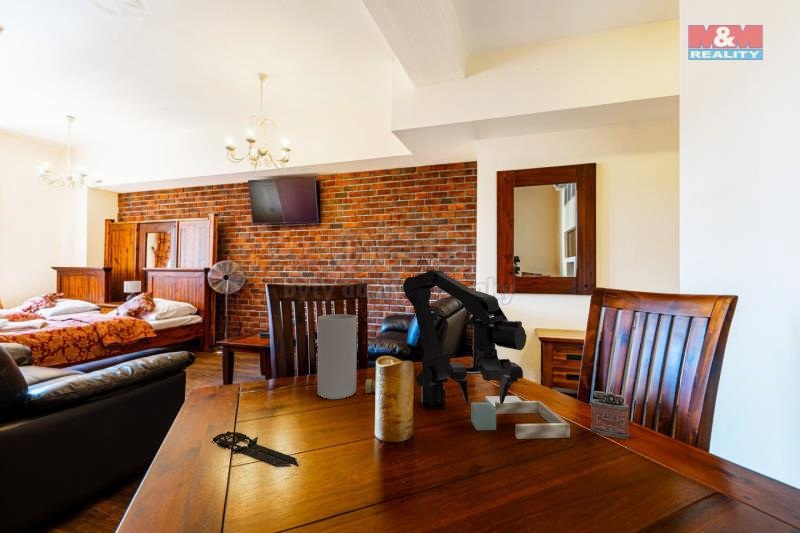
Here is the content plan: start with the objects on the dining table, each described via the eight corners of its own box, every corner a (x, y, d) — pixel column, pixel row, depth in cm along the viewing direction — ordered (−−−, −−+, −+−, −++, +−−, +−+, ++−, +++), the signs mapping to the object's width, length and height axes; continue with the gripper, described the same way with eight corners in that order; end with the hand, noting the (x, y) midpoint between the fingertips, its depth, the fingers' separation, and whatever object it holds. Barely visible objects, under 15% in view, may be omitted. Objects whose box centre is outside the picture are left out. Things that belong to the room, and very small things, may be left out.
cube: (476, 430, 83) (476, 410, 83) (471, 421, 88) (471, 402, 88) (496, 430, 83) (496, 410, 83) (489, 421, 88) (489, 402, 88)
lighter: (627, 433, 81) (627, 392, 81) (630, 440, 78) (630, 397, 78) (590, 427, 84) (589, 388, 85) (591, 433, 81) (591, 392, 82)
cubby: (517, 438, 78) (517, 426, 78) (495, 412, 93) (495, 401, 93) (570, 437, 79) (569, 424, 79) (539, 411, 94) (539, 400, 94)
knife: (304, 465, 68) (304, 458, 68) (277, 481, 63) (277, 474, 63) (235, 432, 82) (235, 426, 82) (208, 443, 76) (208, 437, 77)
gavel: (374, 367, 128) (399, 367, 127) (373, 379, 128) (399, 379, 127) (365, 381, 107) (395, 381, 107) (364, 395, 107) (395, 396, 106)
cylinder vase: (337, 384, 117) (338, 313, 117) (364, 391, 110) (364, 316, 110) (309, 394, 107) (310, 317, 107) (336, 403, 99) (336, 320, 100)
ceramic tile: (494, 410, 94) (494, 406, 94) (485, 400, 102) (485, 396, 102) (528, 410, 95) (528, 406, 95) (516, 399, 103) (516, 395, 103)
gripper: (455, 351, 77) (455, 418, 77) (533, 350, 79) (533, 416, 78) (446, 341, 89) (446, 399, 88) (514, 340, 90) (514, 398, 89)
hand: (484, 403), depth 86 cm, fingers open, 9 cm apart
